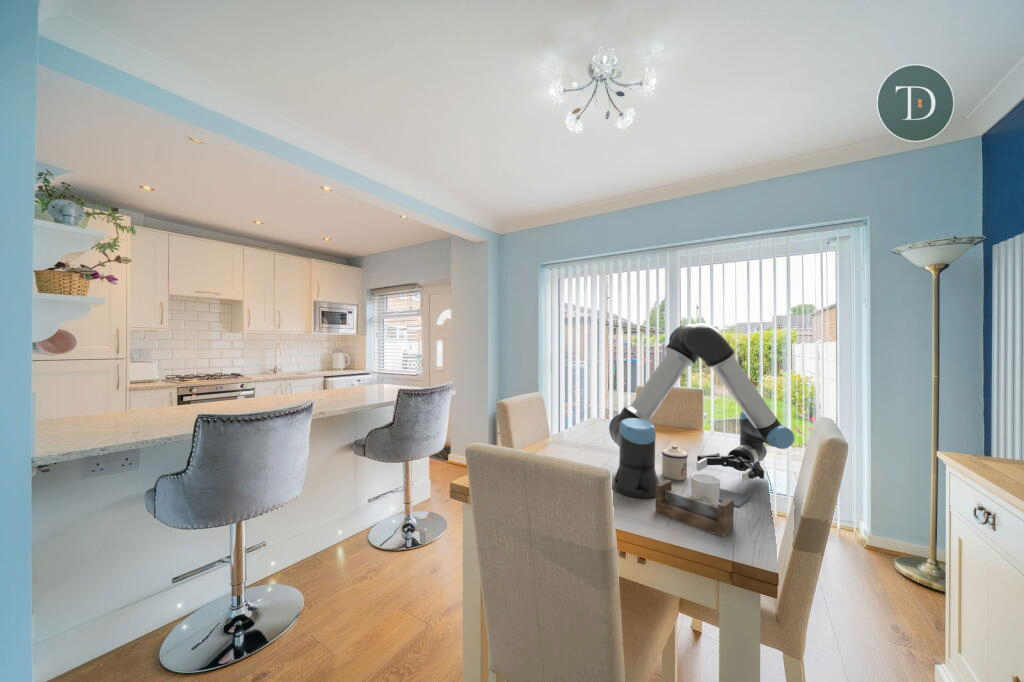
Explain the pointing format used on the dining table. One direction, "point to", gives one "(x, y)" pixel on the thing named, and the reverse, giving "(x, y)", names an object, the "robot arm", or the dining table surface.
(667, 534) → the dining table surface
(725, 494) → the slate mat
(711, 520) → the offcut rack
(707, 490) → the white cup
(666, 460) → the teacup with lid
